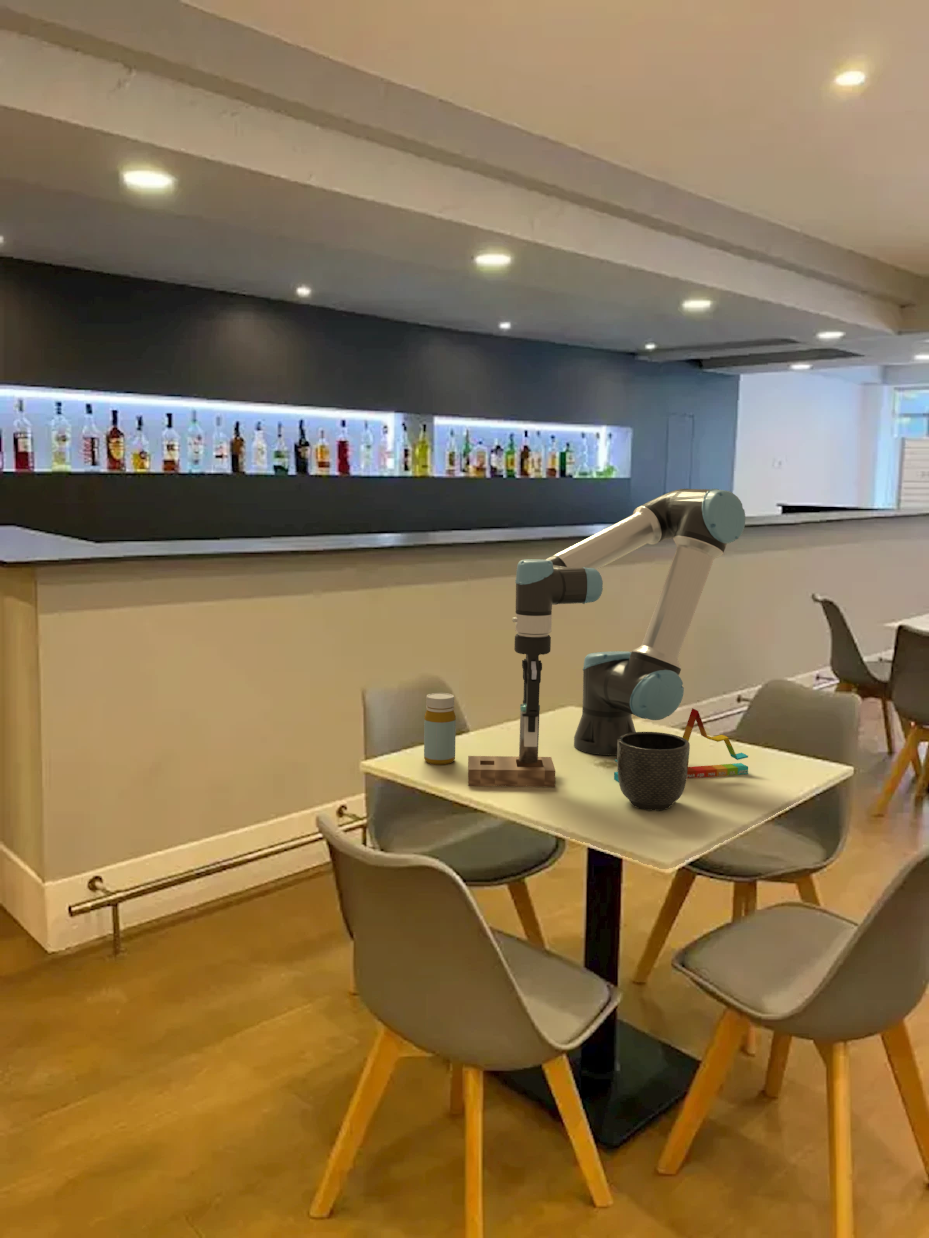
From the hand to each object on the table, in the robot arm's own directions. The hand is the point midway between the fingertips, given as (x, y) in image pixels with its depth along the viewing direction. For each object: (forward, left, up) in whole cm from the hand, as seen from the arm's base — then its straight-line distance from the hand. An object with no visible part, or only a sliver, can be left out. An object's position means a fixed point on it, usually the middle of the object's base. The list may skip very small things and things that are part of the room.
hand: (529, 742), depth 206 cm
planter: (-23, +15, -8) cm, 29 cm away
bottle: (+19, -13, -8) cm, 25 cm away
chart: (-33, -3, -9) cm, 34 cm away
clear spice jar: (0, 0, -4) cm, 4 cm away
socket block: (+4, 0, -8) cm, 9 cm away
